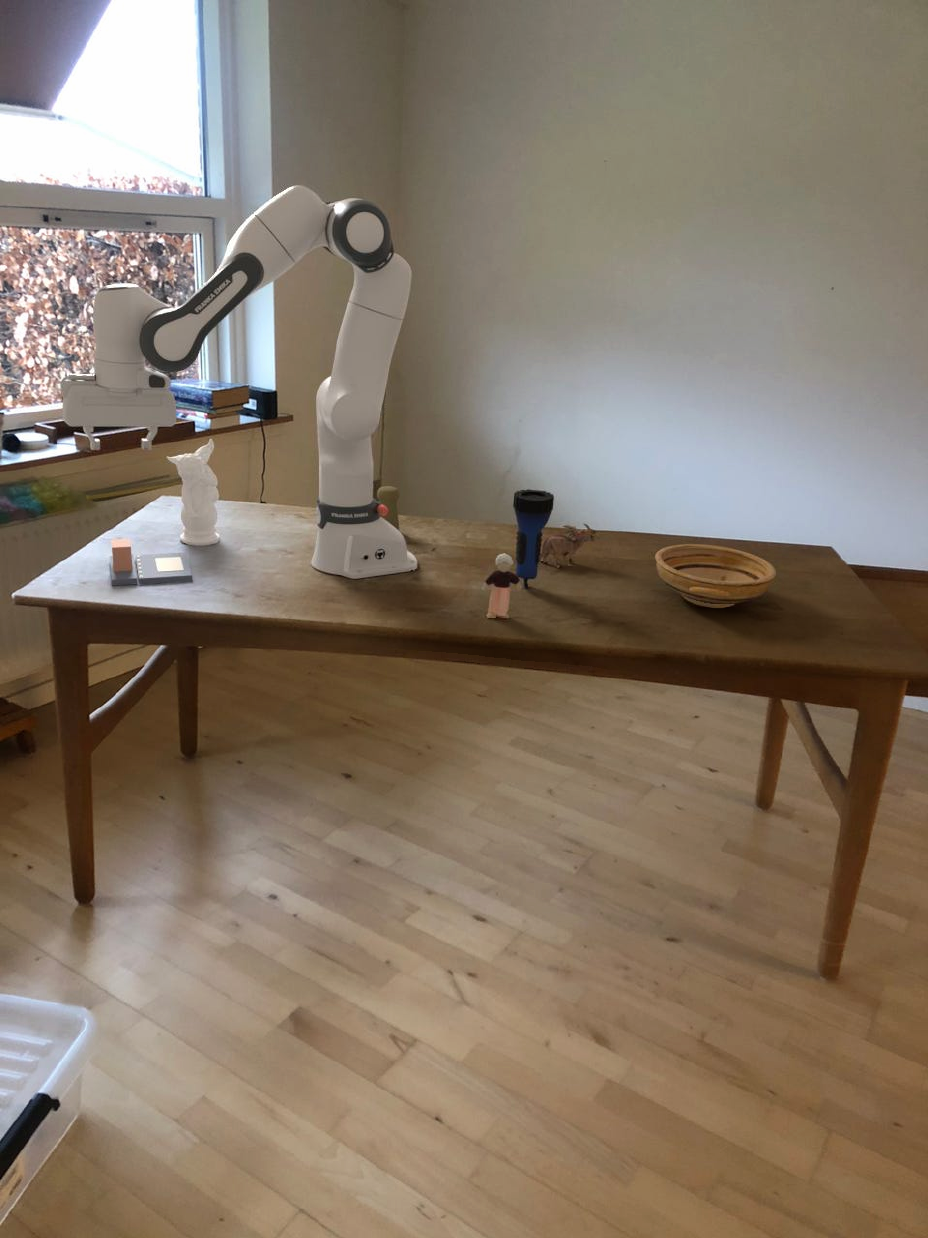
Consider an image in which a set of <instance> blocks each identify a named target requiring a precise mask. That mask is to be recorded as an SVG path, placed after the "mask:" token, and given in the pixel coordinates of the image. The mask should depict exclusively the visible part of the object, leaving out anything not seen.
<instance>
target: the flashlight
mask: <svg viewBox="0 0 928 1238" xmlns="http://www.w3.org/2000/svg"><path fill="white" fill-rule="evenodd" d="M554 501H555V496H554V494H553V493H551V492H549V491H548V492H547V491H545V490H538V489H530V488H529V489H521V490H517V491H516V492H514V493H513V504H512V506H513V507H512V508H513V509H514V515H515V517H516V522H517V526H518V528H517V532H516V543H515V545H516V547H515V550H516V551H515V555H516V557H515V561H516V564H515V565H516V568H515V575H516V576H517V577H518V578H519V579H523V588H524V589H528V588H529V584H528V581H529V580H534V579H536V578H537V576H538V569H539V563H540V562H541V559H540V558H539V557H540V555H541V553H542V541H543V538H542V537H543V532H542V531H543V529H544V528H545V527H546V525H547V524H548V522H549V520H550V518H551V514H552V512H553V511H552V510H553V509H554Z"/></svg>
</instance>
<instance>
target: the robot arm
mask: <svg viewBox="0 0 928 1238" xmlns="http://www.w3.org/2000/svg"><path fill="white" fill-rule="evenodd" d="M319 247H322V248H324V249H325V250H326V251H327V252H329V253H330V254H331V255H333V256H335V257H337V258H338V259H340V260H342V261H344V262H347V263H350V264H351V266H352V268H353V269H352V270H353V273H354V275H353V277H354V280H353V287H352V289H351V292H350V295H349V299H348V302H347V306H346V309H345V312H344V315H343V320H342V323H341V326H340V328H339V329H340V330H339V333H338V338H337V341H336V348H335V354H334V360H333V366H332V370H331V374H330V376H329V377H327V378H326V379H324V380H323V381H322V382H321V384H320V385H319V388H318V389H317V393H316V398H315V399H316V401H315V403H316V405H315V407H316V409H315V410H316V411H315V412H316V432H317V445H318V462H319V463H318V464H319V468H318V471H319V473H318V474H319V475H318V476H319V477H318V478H319V479H318V481H319V483H318V484H319V485H318V486H319V487H318V488H319V489H318V491H319V492H318V495H319V496H318V498H317V500H316V501H317V502H316V514H315V515H316V524H317V536H316V543H315V546H314V547H315V548H314V553H313V556H312V559H311V561H310V564H311V566H312V567H313V568H314V569H316V570H318V571H320V572H323V573H326V574H332V575H339V576H343V577H346V578H348V579H354V580H355V579H363V578H364V579H365V578H371V577H376V576H377V577H379V576H384V575H386V576H387V575H391V574H398V573H406V572H411V570H413V571H416V570H415V569H418V560H417V558H416V556H415V555H414V554H413V553H411V552H410V551H409V550H408V547H407V542H406V539H405V537H404V534H403V533H402V532H401V531H399V530H400V529H399V530H397V529H396V528H395V527H394V526H392V525H391V524H390V523H389V522H387V521H386V520H385V519H383V518H382V517H381V516H385V515H387V513H388V508H387V507H386V506H385V505H382V504H381V503H380V502H379V500H376V499H375V498H373V494H374V493H373V491H374V459H373V449H372V448H373V446H372V437H371V436H372V435H373V434H374V433H375V431H376V430H377V428H378V426H379V424H380V418H381V412H382V406H383V403H384V398H385V393H386V388H387V384H388V378H389V370H390V365H391V363H392V362H391V361H392V359H393V353H394V352H395V351H394V350H395V348H396V343H397V341H398V337H399V334H400V331H401V327H402V324H403V320H404V318H405V316H406V315H405V314H406V310H407V307H408V303H409V302H408V301H409V298H410V293H411V284H412V275H413V273H412V269H411V266H410V265H409V263H408V262H407V261H406V259H405V258H403V257H402V256H401V255H399V254H398V253H395V249H394V244H393V238H392V232H391V226H390V222H389V220H388V218H387V216H386V214H385V213H384V211H383V210H382V209H381V208H380V207H379V206H378V205H377V204H375V203H373V202H372V201H369V200H365V199H362V198H357V197H356V198H354V197H352V198H351V197H350V198H346V199H340V200H335V201H329V202H324V201H323V200H322V198H320V196H319V195H318V194H317V193H316V192H315V191H313V190H312V189H310V188H308V187H307V186H304V185H300V184H299V185H293V186H290V187H289V188H287V189H285V190H284V191H282V192H280V193H279V194H277V195H276V196H274V197H273V198H272V199H269V201H267V202H266V203H264V204H263V205H262V206H261V207H259V208H258V209H257V210H256V211H254V213H252V214H251V215H250V216H249V217H248V218H247V219H246V220H245V221H244V222H243V223H242V225H241V226H240V227H239V228H238V229H237V231H236V232H235V233H234V235H233V236H232V237H231V239H230V240H229V242H228V243H227V247H226V250H225V254H224V256H223V259H222V260H221V263H220V265H219V267H218V268H217V270H216V271H215V273H214V274H213V275H212V276H211V277H210V278H209V279H207V281H206V282H205V283H204V284H203V285H202V286H201V287H200V288H198V289H197V290H196V291H195V292H194V293H193V294H192V295H191V296H190V297H188V299H187V300H185V302H184V303H182V304H181V305H180V306H178V307H175V306H172V305H170V304H168V303H165V302H163V301H161V300H159V299H157V298H156V297H154V296H152V295H151V294H149V293H147V292H146V291H145V290H144V289H143V288H141V287H140V286H139V285H138V284H136V283H135V284H134V283H113V284H109V285H104V286H102V287H101V288H100V289H99V290H98V291H97V292H96V294H95V297H94V302H93V313H92V319H93V320H92V321H93V322H92V324H93V327H92V330H93V331H92V332H93V335H94V339H95V349H94V354H93V359H94V360H93V364H94V367H93V368H94V371H93V372H94V373H93V374H89V373H88V374H86V373H85V374H77V373H70V374H68V375H66V376H65V377H63V378H62V380H61V381H60V394H61V396H62V397H63V401H62V409H61V411H62V412H61V413H62V416H61V417H62V420H63V421H64V423H66V425H68V427H82V429H83V432H84V433H85V434H86V436H87V438H88V440H89V448H90V450H91V451H100V450H101V441H100V439H99V438H95V437H94V436H93V434H92V433H93V432H94V427H147V428H146V429H147V430H148V433H147V435H146V437H145V438H141V440H140V442H141V444H140V445H141V446H140V447H141V449H142V450H152V441H153V440H154V438H155V437H156V435H157V433H158V427H173V426H174V425H175V424H176V423H177V417H178V416H177V415H178V414H177V405H176V399H175V395H174V394H173V392H172V391H171V390H170V388H171V385H172V381H171V380H172V379H170V377H169V376H167V375H166V374H164V373H162V372H161V371H163V372H166V373H177V372H181V371H184V370H186V369H188V368H189V367H191V366H192V365H193V364H194V362H195V361H196V360H197V358H198V356H199V354H200V353H201V352H200V351H201V349H202V346H203V344H204V341H205V340H206V338H207V336H208V335H209V334H210V333H211V331H212V330H213V329H215V328H216V326H218V325H219V323H221V322H222V321H223V320H224V319H225V318H226V317H227V316H228V315H229V314H230V313H231V312H232V311H233V310H235V308H237V307H238V306H239V305H240V304H241V303H243V301H244V300H245V299H247V298H248V297H250V296H252V295H253V294H255V293H257V292H258V291H259V290H261V289H263V288H265V287H266V286H268V285H269V284H271V283H274V281H276V280H277V279H279V278H280V277H281V276H283V275H284V274H285V273H287V272H288V271H290V270H291V269H292V267H294V266H295V265H296V264H297V263H298V262H299V261H301V259H302V258H303V257H304V256H305V255H306V254H307V253H310V252H311V251H312V250H314V249H317V248H319ZM146 361H147V363H148V364H150V365H151V366H153V367H154V368H156V369H158V370H159V371H158V370H156V369H153V368H150V367H146Z"/></svg>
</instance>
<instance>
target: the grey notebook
mask: <svg viewBox="0 0 928 1238" xmlns="http://www.w3.org/2000/svg"><path fill="white" fill-rule="evenodd" d="M135 566H136V569H137V570H136V572H137V579H138V582H139V585H148V584H151V585H153V584H162V583H163V584H164V583H180V582H182V583H183V582H193V574H192V570H191V567H190V564H189V560H188V557H187V554H186V552H168V553H152V554H150V553H149V554H135Z"/></svg>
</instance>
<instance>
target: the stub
mask: <svg viewBox="0 0 928 1238" xmlns="http://www.w3.org/2000/svg"><path fill="white" fill-rule="evenodd" d="M110 541H111V550H112V551H111V552H112V555H109V563H110V575H111V577H110V578H111V585H112V586H123V585H124V586H126V585H127V586H128V585H137V584H138V575H137V570H136V569H137V568H136V561H135V557H134V554H132V545H131V539H130V538H119V539H117V538H116V539H110Z"/></svg>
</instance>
